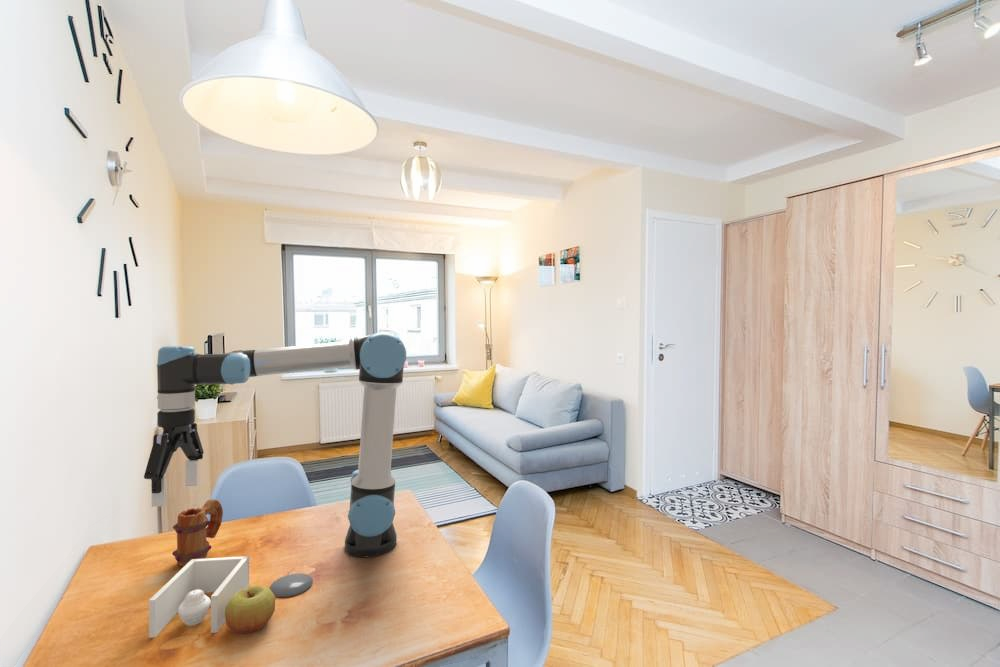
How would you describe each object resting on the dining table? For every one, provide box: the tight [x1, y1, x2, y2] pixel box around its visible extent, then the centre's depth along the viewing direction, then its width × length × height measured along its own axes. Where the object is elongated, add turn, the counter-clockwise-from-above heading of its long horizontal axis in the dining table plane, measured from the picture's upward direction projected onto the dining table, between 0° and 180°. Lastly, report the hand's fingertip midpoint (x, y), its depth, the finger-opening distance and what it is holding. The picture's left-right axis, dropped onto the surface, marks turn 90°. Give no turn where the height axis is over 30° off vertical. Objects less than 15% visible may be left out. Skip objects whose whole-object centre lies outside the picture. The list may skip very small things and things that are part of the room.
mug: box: [172, 498, 224, 567], centre depth 130 cm, size 15×8×15 cm, turn 168°
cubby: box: [148, 555, 250, 639], centre depth 106 cm, size 13×17×8 cm
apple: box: [225, 585, 276, 634], centre depth 101 cm, size 10×10×8 cm
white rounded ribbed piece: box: [177, 589, 211, 627], centre depth 102 cm, size 6×6×7 cm
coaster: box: [268, 572, 313, 599], centre depth 117 cm, size 10×10×1 cm
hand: (176, 495), depth 113 cm, fingers open, 13 cm apart
